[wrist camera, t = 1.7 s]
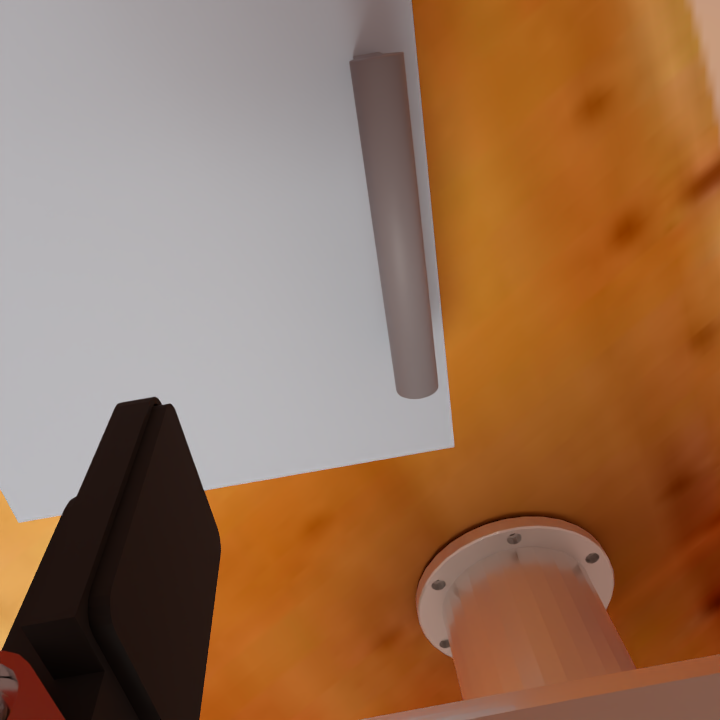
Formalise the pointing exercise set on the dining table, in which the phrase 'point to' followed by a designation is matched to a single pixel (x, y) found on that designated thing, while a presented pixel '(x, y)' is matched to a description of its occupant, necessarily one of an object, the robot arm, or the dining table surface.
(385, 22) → the lid flap
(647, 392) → the dining table surface
